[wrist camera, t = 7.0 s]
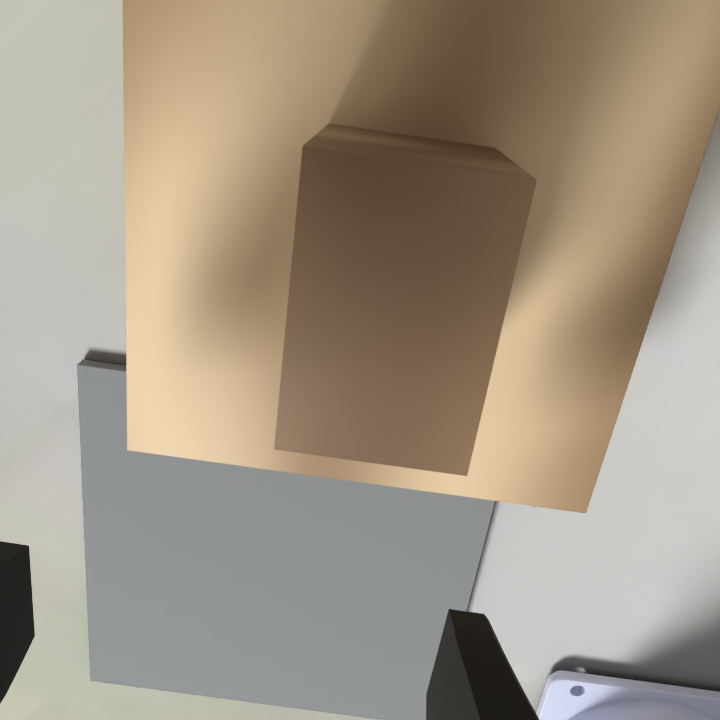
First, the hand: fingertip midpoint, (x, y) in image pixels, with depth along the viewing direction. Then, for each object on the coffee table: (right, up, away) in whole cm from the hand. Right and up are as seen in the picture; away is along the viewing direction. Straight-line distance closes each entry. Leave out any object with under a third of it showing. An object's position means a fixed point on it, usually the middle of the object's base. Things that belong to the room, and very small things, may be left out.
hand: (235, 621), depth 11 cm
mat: (-1, -2, +11) cm, 11 cm away
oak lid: (+3, +7, +3) cm, 8 cm away
